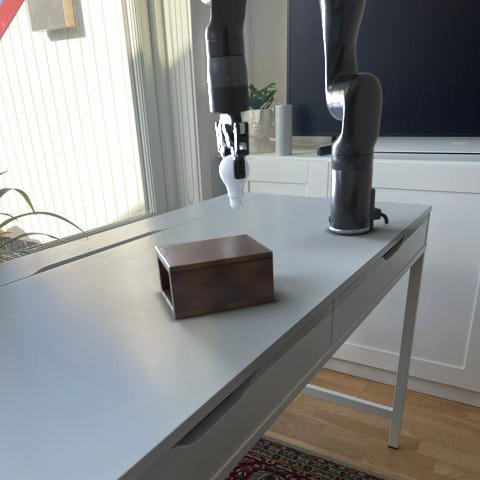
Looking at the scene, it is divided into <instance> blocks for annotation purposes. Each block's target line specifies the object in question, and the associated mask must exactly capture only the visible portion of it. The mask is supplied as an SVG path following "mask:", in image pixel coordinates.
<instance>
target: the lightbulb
mask: <svg viewBox="0 0 480 480" xmlns="http://www.w3.org/2000/svg"><path fill="white" fill-rule="evenodd" d="M244 159H245V172H246V177H245V178H244V179H235V178H234V169H233V160H234V159H233V157H232V154H231V155H228V156H226V157H225V158H224V159H223V158H222V160H221V161H220V163H219V167H218V172H219V176H220V179H221V180H222V182H223V184H224V185H225V187H226V190H227V196H228V198H229V201H230V202H229V203H230V208H232V209H234V210H240V209H241V208H242V207H243V205H244V203H243V201H244V196H245V185H246V183H247V181H248V178H249V175H250V165H249V162H248V161H247V159H246V158H244Z"/></svg>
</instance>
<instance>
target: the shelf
mask: <svg viewBox="0 0 480 480" xmlns="http://www.w3.org/2000/svg"><path fill="white" fill-rule="evenodd" d="M155 256H156V264H157V271H158V279H159V287H160V293H161V295H162V297H163V299H164V301H165V302H166V304H167V306H168V308H169V310H170V312H171V314H172V315H173V317H174V319H175V320H179V319H185V318H189V317H195V316H201V315H207V314H211V313H218V312H223V311H228V310H234V309H239V308H244V307H250V306H257V305H260V304H261V305H262V304H266V303H272V302H275V283H274V281H275V280H274V277H275V276H274V252H273V250H271V249H270V248H268V247H266V245H264V244H262V243H261V242H259V241H258V240H257V239H255V238H253V237H251V236H250V235H249V234H247V233H245V234H237V235H231V236H224V237H217V238H210V239H204V240H203V239H202V240H196V241H189V242H181V243H174V244H173V243H172V244H166V245H161V246H160V245H159V246H155Z"/></svg>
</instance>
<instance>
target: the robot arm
mask: <svg viewBox="0 0 480 480" xmlns="http://www.w3.org/2000/svg"><path fill="white" fill-rule="evenodd" d="M201 2H202V3H203V4H204V5H207V6H209V7H210V17H209V20H208V22H207V24H206V26H205V31H204V32H205V35H204V36H205V37H204V39H205V49H206V50H205V51H206V60H207V61H206V63H207V64H206V65H207V67H206V75H207V90H208V99H209V111H210V113H211V114H213V115H218V114H219V121H215V122H214V123H215V124H214V127H215V133H216V143H217V151H218V153H220V155H221V157H222V160H223V159H224V158H225V157H226V156H228V155H231V154H232V157H233V159H234V160H233V169H234V178H235V179H244V178H245V177H246V172H245V159H246V158H247V156H249V155H250V134H249V133H250V124H249V122H248V121H243V118H242V113H243V112H248V111H249V110H250V96H249V95H250V93H249V77H248V67H247V61H246V49H245V48H246V47H245V35H244V34H245V33H244V25H245V20H246V13H247V4H248V3H247V2H248V0H201ZM318 2H319V10H320V17H321V19H320V20H321V28H322V39H323V48H324V67H325V70H324V72H325V73H324V75H325V76H324V77H325V78H324V79H325V82H324V83H325V103H326V107H327V109H328V112H329V114H330V115H331V117H333V118H334V119H336V120H337V121H341V122H342V127H341V133H340V134H339V136H338V137H337V138H336V139H335V140H333V142H332V143H331V159H330V160H331V162H330V163H331V164H330V205H329V206H330V207H329V216H328V223H329V231H330V232H331V233H333V234H338V235H349V236H350V235H361V234H365V233H368V232H370V231H373V230H374V221H379V220H381V219H382V218H383V220H384V225H388V224H389V223H390V221H389V217H388V215H386V214H385V213H384V212H382V208H379V207H376V205H375V204H376V191H377V190H376V188H374V187H373V176H374V159H375V158H374V157H375V154H374V153H375V147H376V144H377V141H378V140H379V135H380V129H381V128H380V127H381V118H382V109H383V89H382V85H381V84H382V83H381V82H380V80H379V79H378V77H377V76H376V75H374V74H373V73H370V72H359V71H358V62H357V40H358V35H359V30H360V27H361V23H362V19H363V16H364V13H365V7H366V2H367V0H318ZM244 158H245V159H244Z"/></svg>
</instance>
